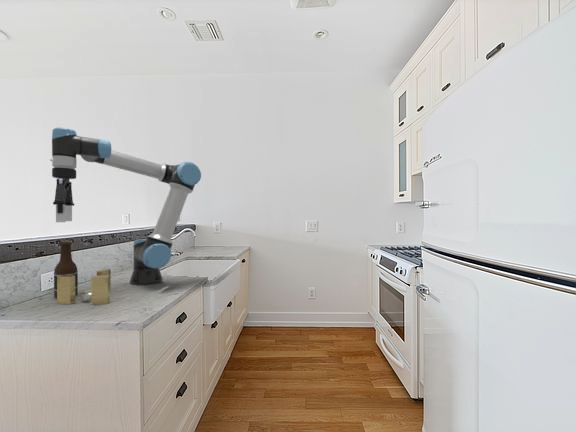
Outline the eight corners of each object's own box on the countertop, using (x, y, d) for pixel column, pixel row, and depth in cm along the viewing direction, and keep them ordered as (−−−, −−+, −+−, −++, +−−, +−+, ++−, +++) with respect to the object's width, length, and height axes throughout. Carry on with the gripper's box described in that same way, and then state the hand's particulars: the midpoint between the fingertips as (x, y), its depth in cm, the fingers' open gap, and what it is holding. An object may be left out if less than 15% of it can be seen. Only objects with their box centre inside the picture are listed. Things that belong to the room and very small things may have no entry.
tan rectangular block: (75, 302, 110) (75, 275, 110) (70, 304, 107) (70, 276, 107) (62, 301, 110) (62, 275, 110) (57, 303, 108) (57, 276, 108)
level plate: (121, 293, 127) (121, 281, 127) (120, 306, 109) (120, 293, 109) (63, 299, 117) (63, 287, 117) (50, 316, 98) (50, 301, 98)
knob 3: (91, 304, 107) (91, 277, 107) (93, 303, 109) (93, 276, 109) (107, 303, 108) (107, 276, 108) (109, 301, 110) (109, 275, 110)
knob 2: (101, 296, 118) (101, 271, 118) (96, 296, 118) (96, 271, 118) (110, 292, 123) (110, 268, 123) (105, 292, 123) (105, 268, 123)
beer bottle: (64, 302, 113) (64, 243, 113) (49, 301, 115) (48, 242, 115) (82, 297, 121) (82, 241, 121) (67, 295, 122) (67, 241, 122)
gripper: (59, 171, 120) (59, 220, 121) (43, 162, 99) (43, 222, 99) (81, 172, 124) (81, 220, 124) (70, 164, 102) (70, 222, 102)
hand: (64, 221), depth 111 cm, fingers open, 13 cm apart
